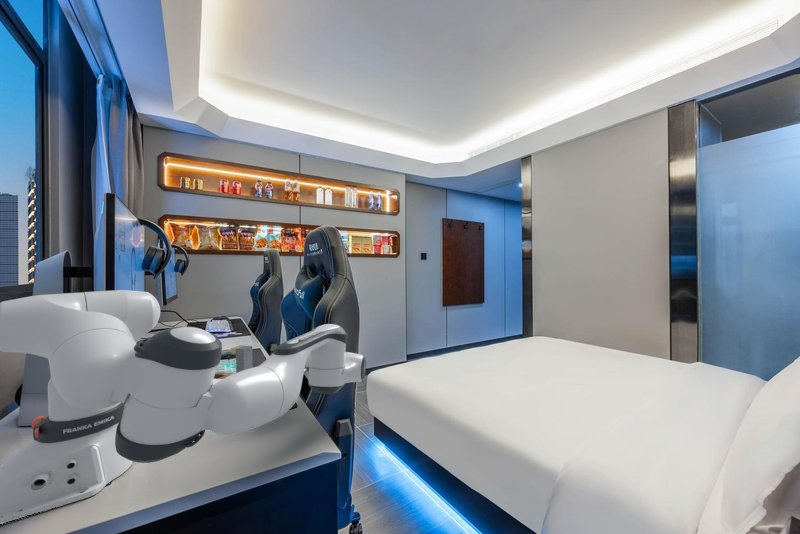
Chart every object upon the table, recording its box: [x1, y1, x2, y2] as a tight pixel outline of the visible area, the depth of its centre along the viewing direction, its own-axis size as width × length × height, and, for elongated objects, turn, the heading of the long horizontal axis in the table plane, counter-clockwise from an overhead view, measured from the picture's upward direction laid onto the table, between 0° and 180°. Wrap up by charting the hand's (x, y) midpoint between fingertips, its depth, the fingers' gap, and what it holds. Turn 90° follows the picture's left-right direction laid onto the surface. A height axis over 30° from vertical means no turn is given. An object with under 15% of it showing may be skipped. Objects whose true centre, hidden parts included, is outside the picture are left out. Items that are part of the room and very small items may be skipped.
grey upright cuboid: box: [230, 344, 254, 373], centre depth 104 cm, size 5×4×17 cm
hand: (277, 361), depth 101 cm, fingers open, 8 cm apart
